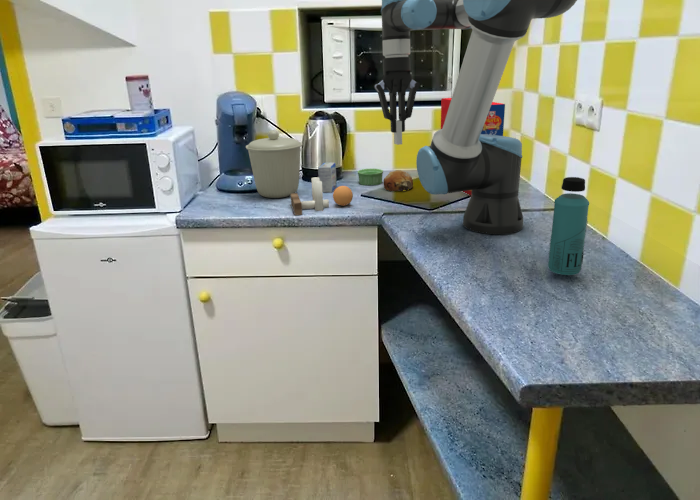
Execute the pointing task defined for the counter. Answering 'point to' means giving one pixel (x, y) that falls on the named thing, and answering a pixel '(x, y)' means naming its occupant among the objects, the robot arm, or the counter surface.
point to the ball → (342, 195)
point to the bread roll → (398, 181)
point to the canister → (275, 165)
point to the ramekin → (370, 176)
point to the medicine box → (327, 177)
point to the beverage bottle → (568, 229)
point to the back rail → (296, 204)
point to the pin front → (313, 204)
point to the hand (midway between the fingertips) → (398, 143)
